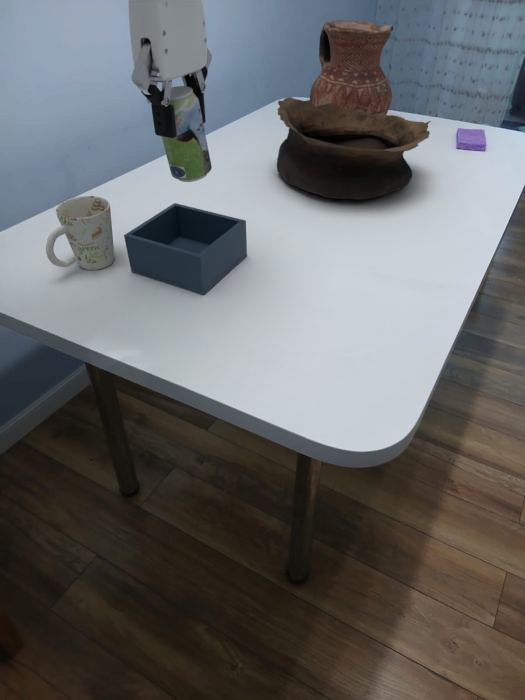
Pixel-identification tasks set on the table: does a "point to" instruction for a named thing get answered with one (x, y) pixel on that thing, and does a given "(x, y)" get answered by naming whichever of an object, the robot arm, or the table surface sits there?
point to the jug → (353, 67)
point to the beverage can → (187, 138)
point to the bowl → (345, 150)
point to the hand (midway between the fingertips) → (181, 127)
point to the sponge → (471, 139)
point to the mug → (84, 232)
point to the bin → (187, 247)
